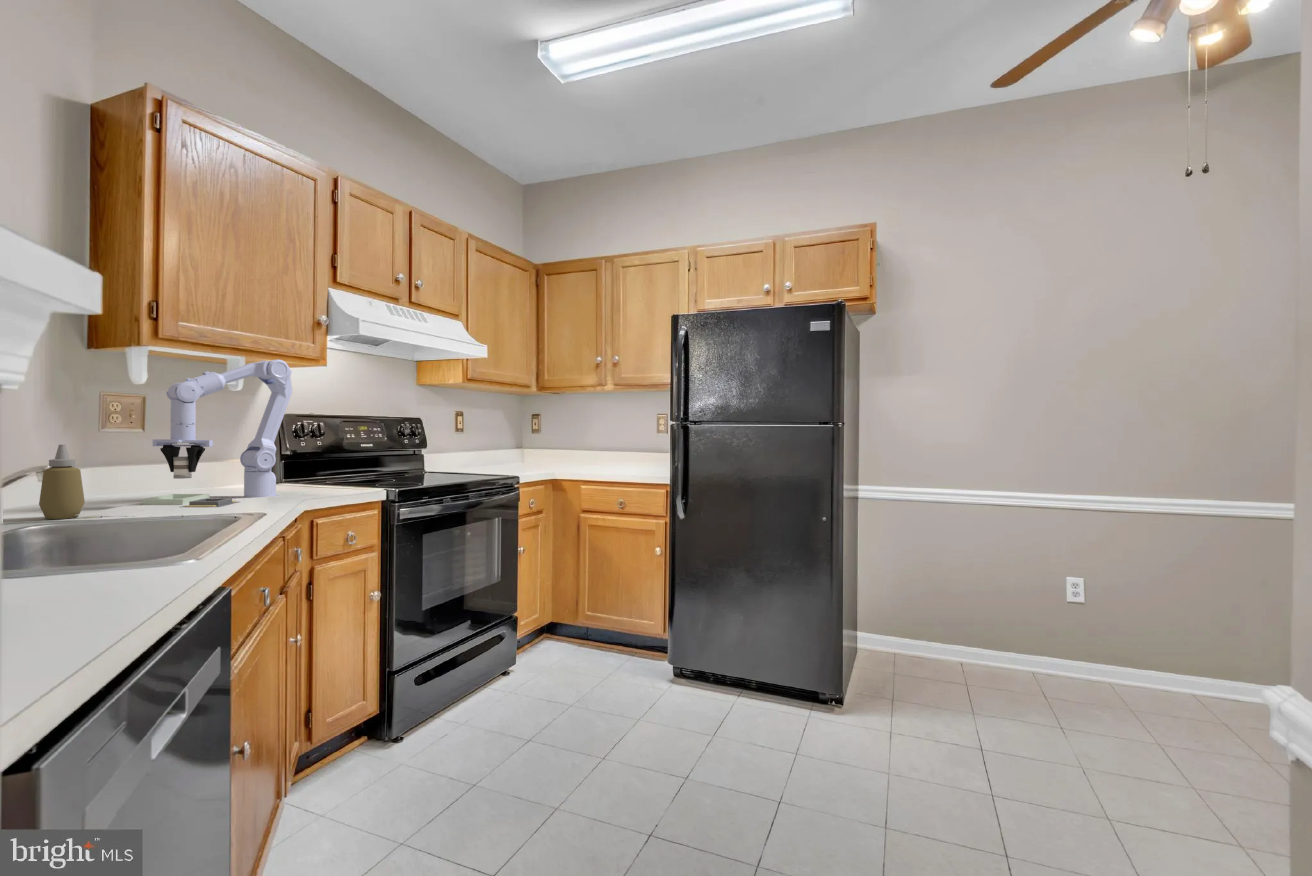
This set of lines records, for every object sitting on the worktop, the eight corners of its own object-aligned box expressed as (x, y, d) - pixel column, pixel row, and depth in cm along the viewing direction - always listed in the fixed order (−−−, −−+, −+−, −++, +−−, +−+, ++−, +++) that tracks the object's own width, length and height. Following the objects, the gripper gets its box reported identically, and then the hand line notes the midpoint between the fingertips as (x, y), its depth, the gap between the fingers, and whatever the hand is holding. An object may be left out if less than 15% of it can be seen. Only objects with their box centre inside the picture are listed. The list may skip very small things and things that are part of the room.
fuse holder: (203, 505, 177) (203, 497, 177) (241, 505, 179) (241, 497, 179) (178, 510, 165) (178, 502, 165) (218, 510, 167) (218, 502, 167)
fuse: (177, 477, 176) (177, 456, 176) (194, 477, 178) (194, 456, 177) (170, 478, 172) (170, 457, 172) (187, 478, 174) (187, 457, 173)
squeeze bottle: (32, 521, 145) (31, 445, 145) (48, 516, 153) (48, 444, 152) (76, 519, 149) (76, 445, 148) (90, 514, 156) (90, 444, 156)
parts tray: (171, 502, 182) (171, 493, 182) (209, 502, 184) (209, 493, 183) (141, 508, 169) (141, 499, 169) (182, 508, 170) (182, 499, 170)
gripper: (145, 423, 170) (145, 472, 170) (203, 424, 172) (203, 473, 172) (161, 423, 177) (161, 470, 177) (217, 424, 179) (216, 471, 179)
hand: (183, 472), depth 175 cm, fingers closed on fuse, 4 cm apart
